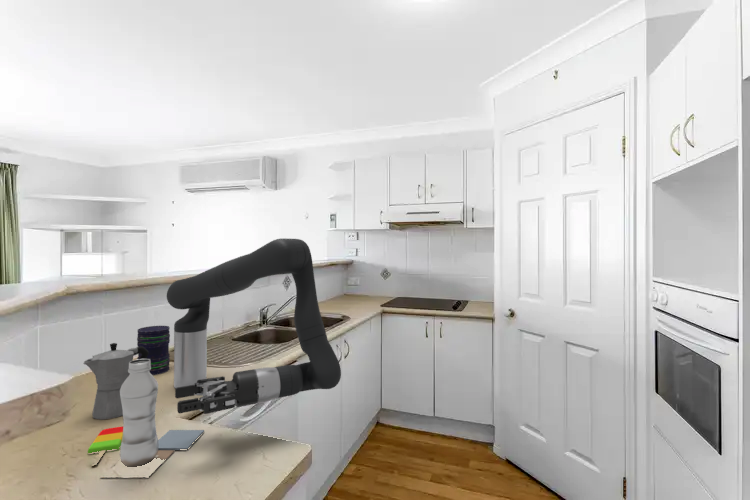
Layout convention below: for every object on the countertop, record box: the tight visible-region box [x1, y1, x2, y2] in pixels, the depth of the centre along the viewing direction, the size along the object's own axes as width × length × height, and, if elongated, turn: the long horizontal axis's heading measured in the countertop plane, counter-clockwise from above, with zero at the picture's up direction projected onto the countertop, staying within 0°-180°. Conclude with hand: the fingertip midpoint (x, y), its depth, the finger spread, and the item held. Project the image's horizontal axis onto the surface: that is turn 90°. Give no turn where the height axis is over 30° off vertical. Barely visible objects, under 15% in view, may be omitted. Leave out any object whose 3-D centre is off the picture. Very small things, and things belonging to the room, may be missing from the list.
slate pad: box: [158, 429, 205, 450], centre depth 83 cm, size 8×8×1 cm
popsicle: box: [87, 425, 124, 458], centre depth 80 cm, size 6×15×2 cm, turn 21°
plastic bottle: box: [119, 358, 159, 467], centre depth 74 cm, size 6×7×20 cm
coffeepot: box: [83, 342, 148, 420], centre depth 99 cm, size 15×9×18 cm, turn 150°
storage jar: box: [136, 325, 171, 376], centre depth 131 cm, size 10×10×15 cm
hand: (176, 400), depth 77 cm, fingers open, 8 cm apart
